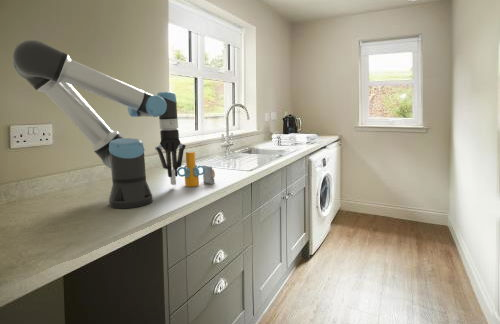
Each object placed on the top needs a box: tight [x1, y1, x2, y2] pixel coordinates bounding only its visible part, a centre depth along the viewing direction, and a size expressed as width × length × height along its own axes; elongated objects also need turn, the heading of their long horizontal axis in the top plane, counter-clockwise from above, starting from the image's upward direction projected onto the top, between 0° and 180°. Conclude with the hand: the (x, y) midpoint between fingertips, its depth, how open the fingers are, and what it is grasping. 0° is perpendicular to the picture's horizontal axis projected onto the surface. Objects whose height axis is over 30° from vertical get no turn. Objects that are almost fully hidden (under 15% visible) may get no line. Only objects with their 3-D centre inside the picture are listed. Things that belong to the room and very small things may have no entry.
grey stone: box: [202, 164, 216, 186], centre depth 159 cm, size 3×8×8 cm, turn 31°
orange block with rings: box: [177, 150, 205, 188], centre depth 154 cm, size 12×10×15 cm
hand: (173, 184), depth 151 cm, fingers closed
